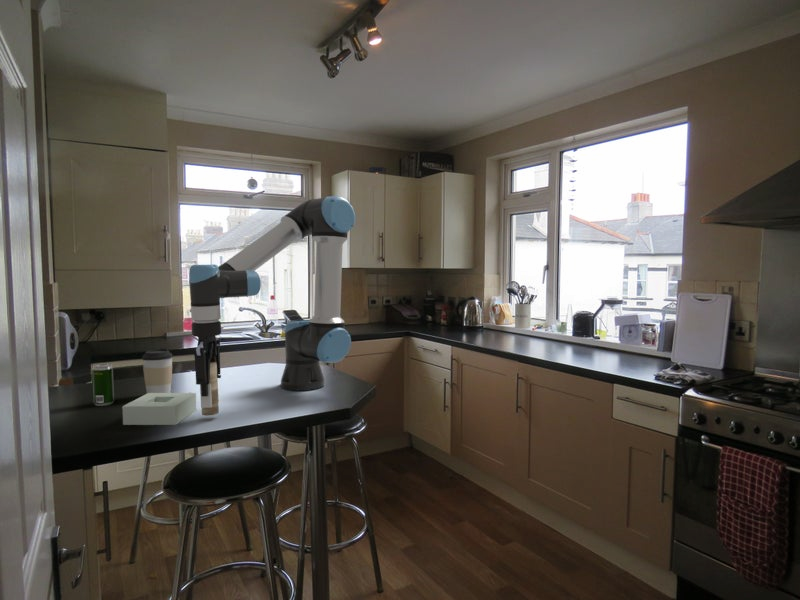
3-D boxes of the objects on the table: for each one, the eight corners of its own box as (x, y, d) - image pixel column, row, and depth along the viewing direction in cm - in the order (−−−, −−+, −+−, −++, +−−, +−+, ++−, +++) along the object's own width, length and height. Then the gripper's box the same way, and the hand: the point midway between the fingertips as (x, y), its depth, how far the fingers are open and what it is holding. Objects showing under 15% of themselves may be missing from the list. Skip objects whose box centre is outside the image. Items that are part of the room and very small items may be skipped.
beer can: (111, 405, 153) (109, 366, 153) (91, 406, 152) (89, 367, 151) (116, 400, 159) (114, 363, 158) (97, 402, 157) (95, 363, 156)
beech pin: (221, 410, 143) (218, 361, 142) (215, 415, 138) (213, 365, 137) (205, 410, 143) (203, 361, 142) (199, 415, 138) (196, 365, 137)
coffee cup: (161, 400, 160) (160, 353, 158) (136, 398, 161) (135, 352, 160) (179, 392, 168) (178, 348, 167) (155, 391, 170) (154, 347, 169)
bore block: (196, 409, 149) (195, 392, 149) (175, 424, 135) (174, 406, 135) (148, 409, 149) (148, 392, 149) (123, 424, 135) (122, 406, 135)
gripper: (204, 317, 147) (208, 396, 149) (178, 325, 130) (183, 414, 132) (230, 316, 147) (233, 395, 149) (208, 325, 130) (212, 414, 132)
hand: (210, 404), depth 140 cm, fingers closed on beech pin, 4 cm apart
